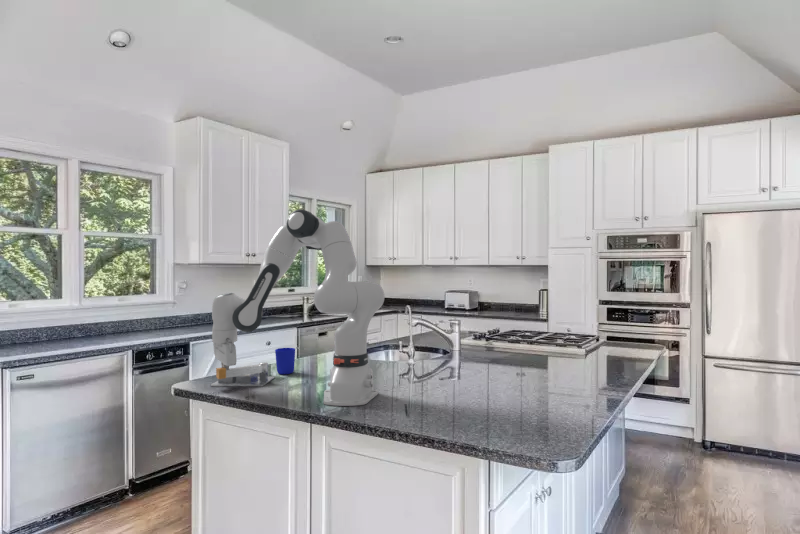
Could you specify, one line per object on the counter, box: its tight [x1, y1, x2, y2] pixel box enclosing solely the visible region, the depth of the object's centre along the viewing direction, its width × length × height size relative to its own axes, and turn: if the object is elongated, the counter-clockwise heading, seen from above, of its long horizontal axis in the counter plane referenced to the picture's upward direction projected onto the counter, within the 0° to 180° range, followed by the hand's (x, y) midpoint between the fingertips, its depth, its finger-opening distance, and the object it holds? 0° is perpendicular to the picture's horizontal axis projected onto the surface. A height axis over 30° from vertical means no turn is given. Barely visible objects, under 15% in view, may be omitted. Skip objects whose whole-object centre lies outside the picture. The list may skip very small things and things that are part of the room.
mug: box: [274, 347, 296, 375], centre depth 216 cm, size 8×12×10 cm
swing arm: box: [215, 362, 269, 380], centre depth 193 cm, size 3×19×4 cm, turn 129°
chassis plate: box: [210, 371, 275, 387], centre depth 199 cm, size 14×20×4 cm
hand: (225, 373), depth 192 cm, fingers closed
